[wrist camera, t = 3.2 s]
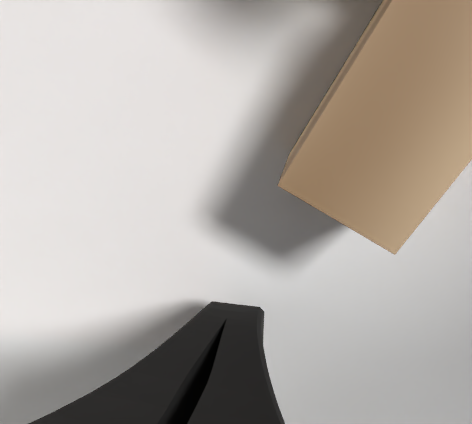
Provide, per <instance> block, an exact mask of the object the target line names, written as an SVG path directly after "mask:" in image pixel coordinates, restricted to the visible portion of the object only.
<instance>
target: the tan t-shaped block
mask: <svg viewBox="0 0 472 424" xmlns="http://www.w3.org/2000/svg"><path fill="white" fill-rule="evenodd" d="M471 160H472V0H383V1H382V3H381V4H380V6H379V8H378V9H377V11H376V13H375V14H374V16H373V18H372V19H371V21H370V23H369V24H368V26H367V27H366V29H365V31H364V32H363V34H362V36H361V37H360V39H359V41H358V42H357V44H356V45H355V47H354V49H353V50H352V52H351V54H350V55H349V57H348V59H347V60H346V62H345V63H344V65H343V67H342V68H341V70H340V72H339V73H338V75H337V77H336V78H335V80H334V82H333V83H332V85H331V86H330V88H329V90H328V91H327V93H326V95H325V96H324V98H323V100H322V101H321V103H320V104H319V106H318V108H317V109H316V111H315V113H314V114H313V116H312V118H311V119H310V121H309V122H308V124H307V126H306V127H305V129H304V131H303V132H302V134H301V136H300V137H299V139H298V141H297V142H296V144H295V145H294V147H293V149H292V150H291V152H290V154H289V156H288V159H287V161H286V164H285V167H284V169H283V172H282V175H281V178H280V180H279V183H278V186H279V187H281V188H282V189H284V190H286V191H287V192H289V193H291V194H292V195H294V196H296V197H298V198H299V199H301V200H303V201H304V202H306V203H308V204H309V205H311V206H313V207H315V208H316V209H318V210H320V211H321V212H323V213H325V214H326V215H328V216H330V217H332V218H333V219H335V220H337V221H338V222H340V223H342V224H343V225H345V226H347V227H349V228H350V229H352V230H354V231H355V232H357V233H359V234H360V235H362V236H364V237H366V238H367V239H369V240H371V241H372V242H374V243H376V244H377V245H379V246H381V247H383V248H384V249H386V250H388V251H389V252H391V253H393V254H394V255H395V254H396V253H397V251H398V250H399V249H400V248H401V246H402V245H403V244H404V243H405V242H406V240H407V239H408V238H409V237H410V235H411V234H412V233H413V232H414V230H415V229H416V228H417V227H418V225H419V224H420V223H421V222H422V220H423V219H424V218H425V217H426V215H427V214H428V213H429V212H430V210H431V209H432V208H433V207H434V205H435V204H436V203H437V202H438V201H439V199H440V198H441V197H442V196H443V194H444V193H445V192H446V191H447V189H448V188H449V187H450V186H451V184H452V183H453V182H454V181H455V179H456V178H457V177H458V176H459V174H460V173H461V172H462V171H463V169H464V168H465V167H466V166H467V165H468V163H469V162H470V161H471Z"/></svg>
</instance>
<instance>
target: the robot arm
mask: <svg viewBox="0 0 472 424" xmlns="http://www.w3.org/2000/svg"><path fill="white" fill-rule="evenodd" d="M263 327H264V311H263V310H262V309H261V308H260V307H255V306H246V305H237V304H229V303H220V302H211V303H210V304H208V305H207V306H206V307H205V308H204V309H203V310H201V311H200V312H199V313H198V314H197V315H196V316H195V317H194V318H192V319H191V320H190V321H189V322H188V323H187V324H186V325H184V326H183V327H182V328H181V329H180V330H179V331H178V332H176V333H175V334H174V335H173V336H172V337H170V338H169V339H168V340H167V341H166V342H164V343H163V344H162V345H161V346H159V347H158V348H157V349H156V350H154V351H153V352H152V353H150V354H149V355H148V356H146V357H145V358H144V359H142V360H141V361H140V362H138V363H137V364H135V365H134V366H133V367H131V368H130V369H128V370H127V371H125V372H124V373H122V374H121V375H119V376H118V377H116V378H115V379H113V380H111V381H110V382H108V383H106V384H105V385H103V386H101V387H100V388H98V389H96V390H95V391H93V392H91V393H89V394H87V395H86V396H84V397H82V398H80V399H78V400H76V401H74V402H72V403H70V404H68V405H66V406H64V407H62V408H60V409H58V410H56V411H55V412H53V413H51V414H49V415H46V416H44V417H42V418H40V419H38V420H36V421H33V422H31V423H29V424H285V423H284V420H283V417H282V415H281V412H280V409H279V406H278V403H277V400H276V397H275V394H274V391H273V387H272V384H271V380H270V377H269V373H268V369H267V364H266V359H265V354H264V349H263Z"/></svg>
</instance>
